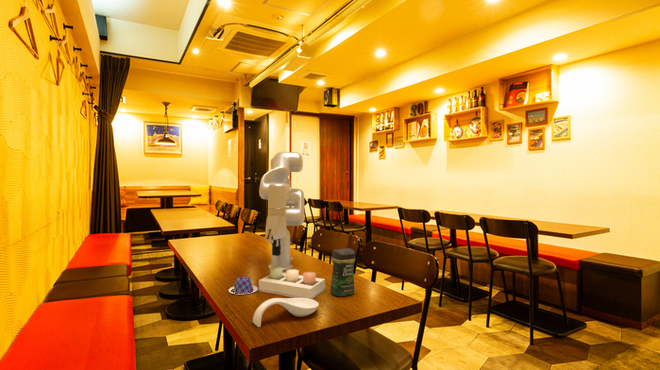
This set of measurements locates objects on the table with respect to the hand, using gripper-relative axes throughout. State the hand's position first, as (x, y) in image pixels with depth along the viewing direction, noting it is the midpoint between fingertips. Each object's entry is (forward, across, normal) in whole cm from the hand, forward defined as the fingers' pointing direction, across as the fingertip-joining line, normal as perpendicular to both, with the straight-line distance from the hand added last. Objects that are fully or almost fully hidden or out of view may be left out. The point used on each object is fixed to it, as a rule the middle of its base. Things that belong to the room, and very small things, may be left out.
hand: (276, 255), depth 144 cm
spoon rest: (+15, +23, +19) cm, 34 cm away
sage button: (+11, -1, 0) cm, 11 cm away
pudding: (+15, +8, -11) cm, 20 cm away
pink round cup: (+11, -1, +16) cm, 19 cm away
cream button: (+11, -1, +8) cm, 13 cm away
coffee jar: (+15, -7, +28) cm, 32 cm away
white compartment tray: (+14, -1, +8) cm, 16 cm away
